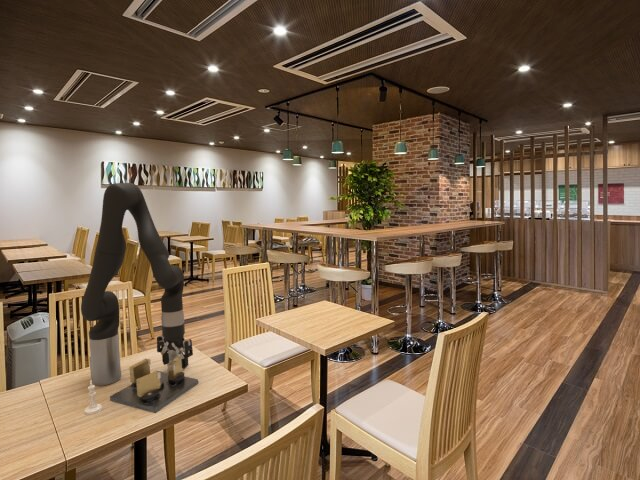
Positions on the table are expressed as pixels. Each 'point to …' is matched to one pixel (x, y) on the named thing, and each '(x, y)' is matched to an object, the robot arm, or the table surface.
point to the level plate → (165, 396)
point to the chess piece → (92, 401)
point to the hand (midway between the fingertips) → (175, 365)
